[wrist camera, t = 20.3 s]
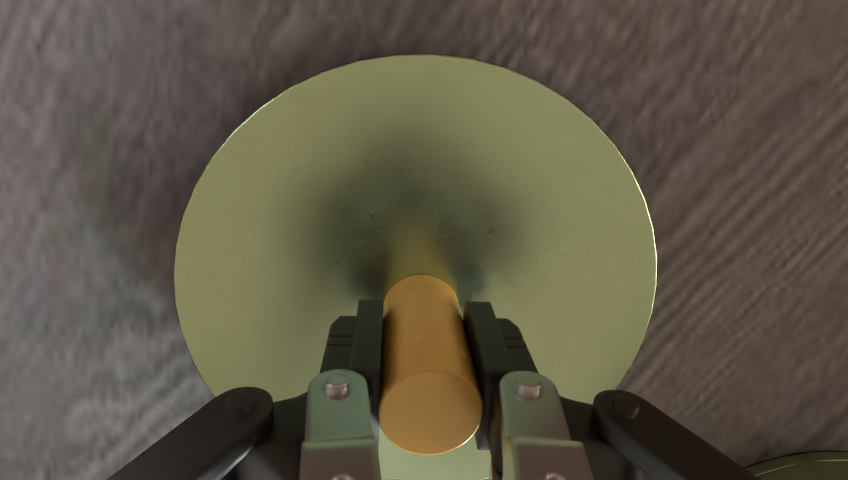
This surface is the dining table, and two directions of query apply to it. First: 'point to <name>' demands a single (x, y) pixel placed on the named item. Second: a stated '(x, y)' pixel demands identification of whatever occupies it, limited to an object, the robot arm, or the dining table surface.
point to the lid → (416, 244)
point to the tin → (804, 467)
